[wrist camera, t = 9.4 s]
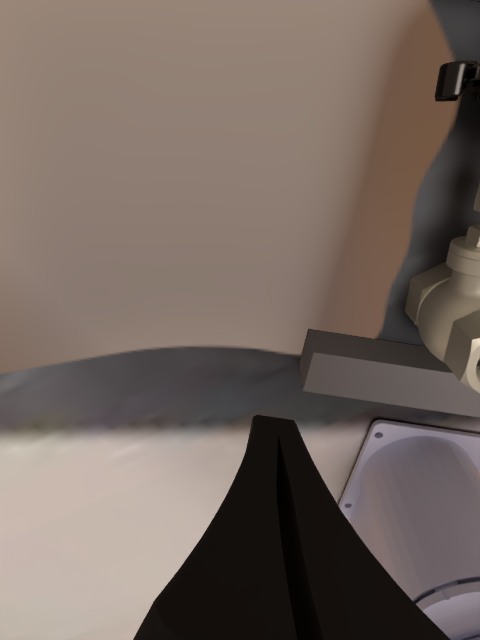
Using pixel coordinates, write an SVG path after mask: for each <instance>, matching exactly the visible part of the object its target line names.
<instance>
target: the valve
mask: <svg viewBox="0 0 480 640" xmlns="http://www.w3.org/2000/svg"><path fill="white" fill-rule="evenodd" d="M462 88H463V91H474V92H477V93H476V98H475V100H476V101H480V64H478V63H477V62H476V61H457V62H450V63H446V64H443V65H441V67H440V70H439V76H438V81H437V87H436V93H435V100H436V101H456V100H457V99H458V96H460V95H461V93H462ZM473 209H474V210H476V211H479V212H480V184H479V188H478V192H477V196H476V200H475V204H474V208H473ZM405 313H406V314H407V315H408V316H409V318H410V319H411V320H412V321H413V323H414V324H415V325H417V326H418V329H419V333H420V336H421V339H422V341H423V342H424V344H425V346H426V347H427V348H428V350H429V351H430V352H431V353H432V354H433V355H434V356H435V357H437V358H438V359H439V360H441V361H442V362H444V363H446V365H447V366H448V367H449V368H450V370H451V371H452V372H453V374H454V375H455V376H456V377H457V379H458V380H459V381H460V382H461V383H463V384H464V385H466V386H468V387H469V388H471V389H473V390H475V391H476V392H478V393H480V224H475V225H472V226H471V227H469V228H468V232H467V236H461V237H457V238H454V239H452V241H451V242H450V247H449V251H448V255H447V260H446V262H443V263H441V264H439V265H437V266H435V267H433V268H431V269H429V270H427V271H425V272H423V273H421V274H419V275H417V276H415V277H413V278H411V280H410V284H409V290H408V295H407V300H406V305H405Z"/></svg>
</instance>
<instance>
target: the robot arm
mask: <svg viewBox="0 0 480 640" xmlns="http://www.w3.org/2000/svg"><path fill="white" fill-rule="evenodd" d="M377 432H380V433H378V434H376V433H377ZM347 519H351V524H352V526H351V524H350V523H349V521H348V520H347ZM133 640H480V434H475V433H468V432H461V431H454V430H448V429H441V428H434V427H427V426H420V425H414V424H407V423H400V422H393V421H387V420H377V421H375V422H373V424H372V426H371V428H370V430H369V433H368V435H367V438H366V440H365V442H364V445H363V447H362V450H361V452H360V455H359V457H358V459H357V462H356V464H355V467H354V469H353V471H352V474H351V476H350V479H349V481H348V484H347V486H346V488H345V491H344V493H343V496H342V498H341V500H340V503H339V505H338V504H337V503H336V501H335V500H334V498H333V496H332V495H331V493H330V491H329V490H328V488H327V486H326V484H325V483H324V481H323V479H322V477H321V475H320V473H319V472H318V470H317V468H316V466H315V464H314V462H313V460H312V458H311V456H310V454H309V452H308V450H307V448H306V446H305V444H304V441H303V439H302V437H301V435H300V432H299V430H298V427H297V425H296V423H295V422H294V420H289V419H282V418H275V417H268V416H262V415H256V416H254V417H253V420H252V425H251V429H250V434H249V439H248V444H247V449H246V452H245V455H244V458H243V461H242V463H241V466H240V468H239V470H238V472H237V474H236V477H235V479H234V481H233V483H232V485H231V487H230V489H229V491H228V493H227V495H226V497H225V499H224V501H223V503H222V504H221V506H220V508H219V510H218V512H217V513H216V515H215V517H214V518H213V520H212V522H211V523H210V525H209V526H208V528H207V530H206V531H205V533H204V534H203V536H202V537H201V539H200V541H199V542H198V543H197V545H196V546H195V548H194V549H193V551H192V552H191V553H190V555H189V556H188V558H187V559H186V561H185V562H184V563H183V565H182V566H181V568H180V569H179V570H178V572H177V573H176V574H175V575H174V577H173V578H172V579H171V580H170V582H169V583H168V584H167V585H166V587H165V588H164V589H163V591H162V592H161V593H160V594H159V596H158V597H157V598H156V599H155V601H154V602H153V604H152V606H151V608H150V610H149V612H148V613H147V615H146V617H145V619H144V621H143V622H142V624H141V626H140V628H139V630H138V632H137V633H136V635H135V637H134V639H133Z"/></svg>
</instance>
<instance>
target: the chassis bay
mask: <svg viewBox="0 0 480 640" xmlns="http://www.w3.org/2000/svg"><path fill="white" fill-rule="evenodd" d="M474 1H479V2H480V0H474ZM299 369H300V376H301V382H302V388H303V391H305V392H312V393H319V394H326V395H332V396H339V397H346V398H352V399H359V400H366V401H373V402H379V403H386V404H393V405H399V406H406V407H413V408H420V409H426V410H433V411H440V412H446V413H453V414H460V415H467V416H473V417H480V393H478V392H476V391H475V390H473V389H471V388H469V387H468V386H466V385H464V384H463V383H461V382H460V381H459V380H458V379H457V377H456V376H455V375H454V374H453V372H452V371H451V370H450V368H449V367H448V366H447V365H446V363H444V362H442V361H441V360H439V359H438V358H437V357H435V356H434V355H433V354H432V353H431V352H430V351H429V350H428V348H427V347H424V346H418V345H411V344H405V343H398V342H391V341H385V340H378V339H372V338H365V337H358V336H352V335H345V334H339V333H332V332H325V331H319V330H312V329H308V332H307V336H306V339H305V343H304V347H303V351H302V355H301V358H300V362H299Z"/></svg>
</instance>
